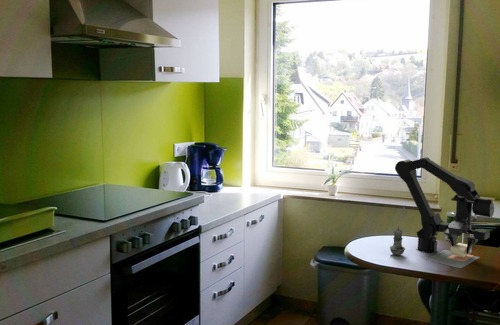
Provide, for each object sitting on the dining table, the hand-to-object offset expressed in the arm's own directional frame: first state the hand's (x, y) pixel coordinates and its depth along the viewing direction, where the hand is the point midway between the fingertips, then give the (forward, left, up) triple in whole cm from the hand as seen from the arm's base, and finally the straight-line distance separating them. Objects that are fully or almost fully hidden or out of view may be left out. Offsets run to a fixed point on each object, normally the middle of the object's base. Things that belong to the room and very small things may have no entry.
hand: (460, 252), depth 204 cm
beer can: (-13, +23, -3) cm, 27 cm away
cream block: (0, 0, -1) cm, 1 cm away
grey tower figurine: (-18, -16, -3) cm, 25 cm away
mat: (-1, -4, -2) cm, 5 cm away
